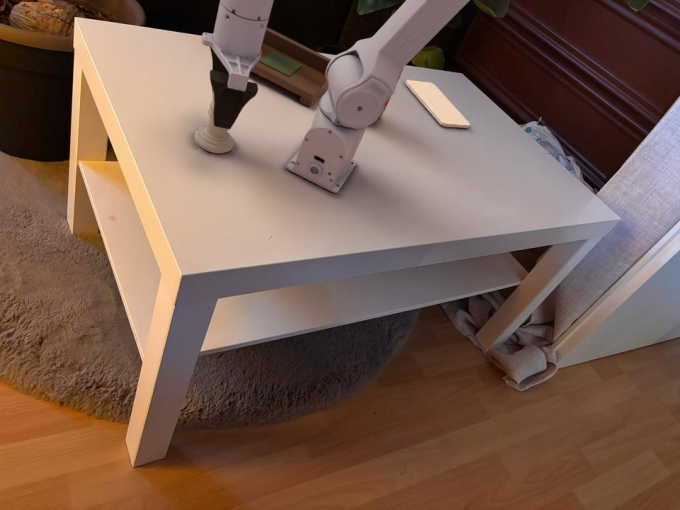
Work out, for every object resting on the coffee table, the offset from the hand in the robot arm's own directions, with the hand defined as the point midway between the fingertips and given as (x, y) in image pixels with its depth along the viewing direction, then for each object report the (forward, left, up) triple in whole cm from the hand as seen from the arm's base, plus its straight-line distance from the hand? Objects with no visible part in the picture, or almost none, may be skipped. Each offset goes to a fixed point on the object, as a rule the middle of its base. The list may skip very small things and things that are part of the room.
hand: (221, 109), depth 73 cm
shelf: (+26, +1, -5) cm, 26 cm away
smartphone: (+45, -25, -5) cm, 51 cm away
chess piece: (0, 0, -5) cm, 5 cm away
